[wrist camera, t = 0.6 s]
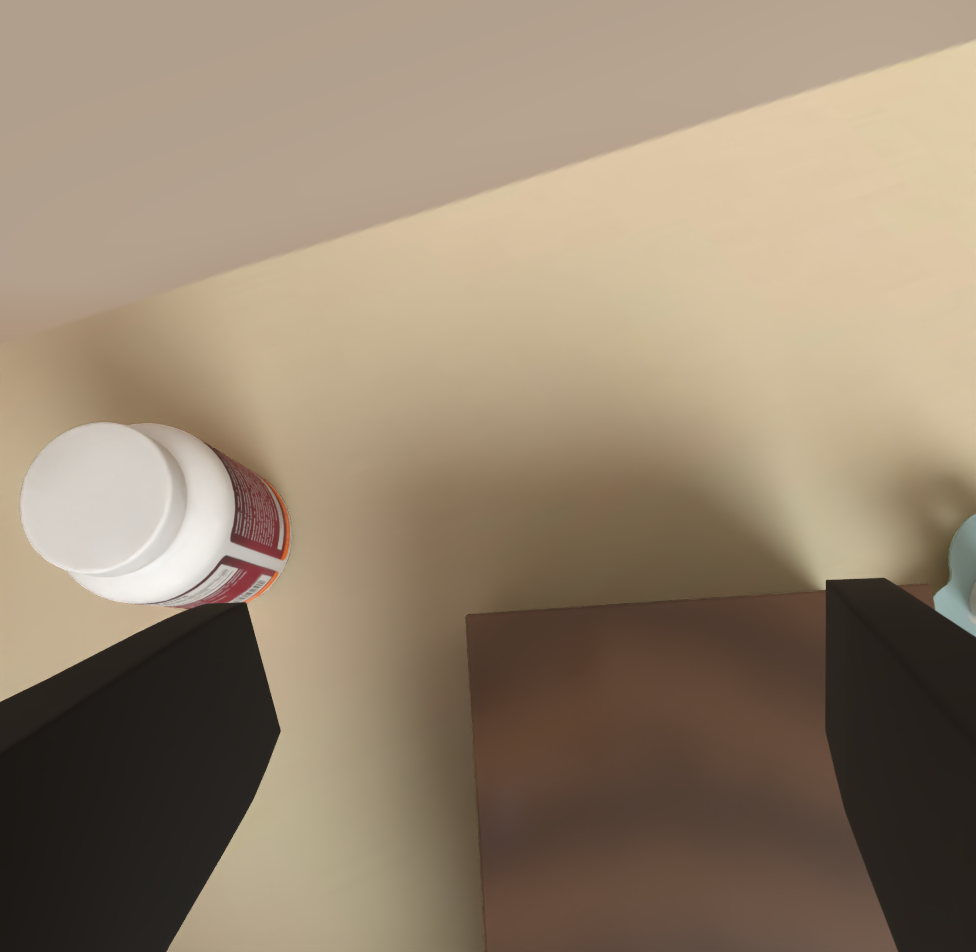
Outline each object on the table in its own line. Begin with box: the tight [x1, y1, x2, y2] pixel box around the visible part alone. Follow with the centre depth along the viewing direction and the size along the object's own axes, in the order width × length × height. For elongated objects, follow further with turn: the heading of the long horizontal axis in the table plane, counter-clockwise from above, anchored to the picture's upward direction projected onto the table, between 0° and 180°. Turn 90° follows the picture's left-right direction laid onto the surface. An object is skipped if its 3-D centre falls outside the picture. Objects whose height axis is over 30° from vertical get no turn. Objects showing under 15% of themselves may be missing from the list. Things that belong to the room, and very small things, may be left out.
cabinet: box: [466, 583, 935, 952], centre depth 28 cm, size 14×15×9 cm
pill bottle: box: [19, 422, 292, 609], centre depth 30 cm, size 6×6×11 cm
